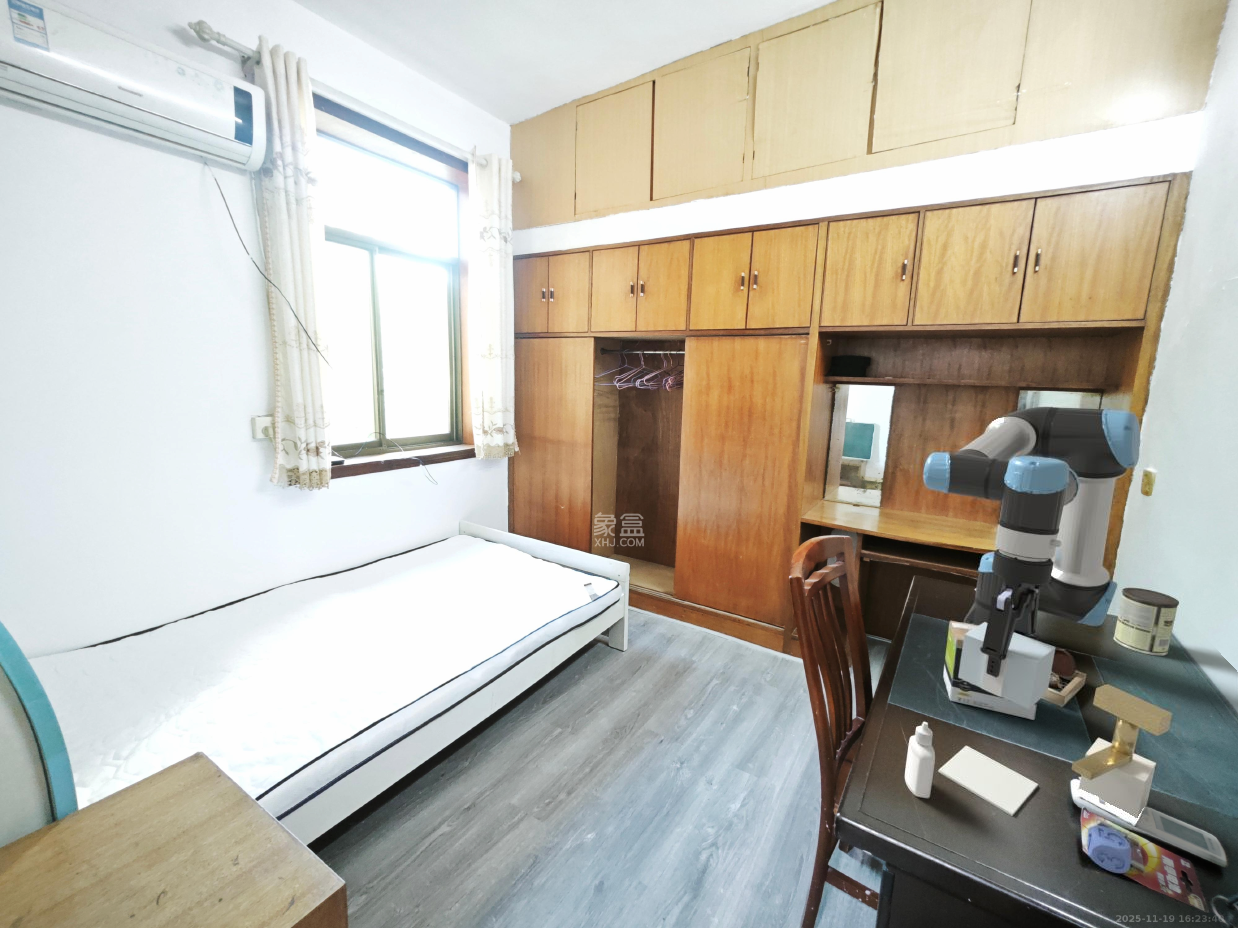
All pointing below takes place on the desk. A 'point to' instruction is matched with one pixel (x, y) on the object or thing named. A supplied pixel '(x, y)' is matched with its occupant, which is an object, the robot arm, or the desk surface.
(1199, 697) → the desk surface
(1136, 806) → the white rectangular box
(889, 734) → the desk surface
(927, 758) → the eye dropper bottle
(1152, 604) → the coffee can
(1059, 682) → the compass
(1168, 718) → the gold angular piece
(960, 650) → the tea box
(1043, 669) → the cover
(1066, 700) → the beige square frame
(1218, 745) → the desk surface
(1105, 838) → the decorative dice
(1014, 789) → the mat
